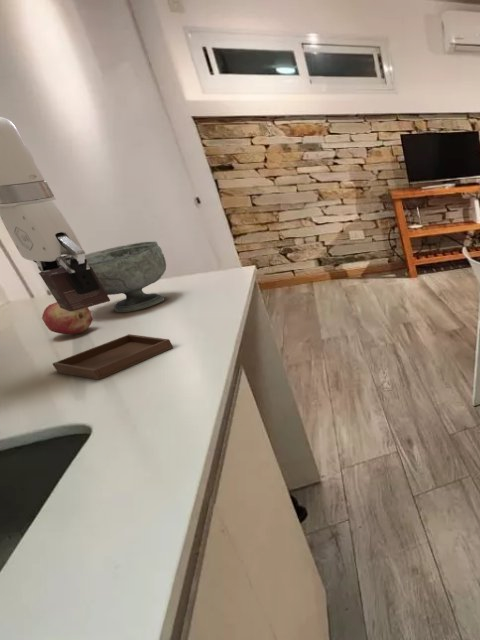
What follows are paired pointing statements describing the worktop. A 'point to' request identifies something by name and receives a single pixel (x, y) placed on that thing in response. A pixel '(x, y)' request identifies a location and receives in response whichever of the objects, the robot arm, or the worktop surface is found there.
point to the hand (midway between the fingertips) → (76, 289)
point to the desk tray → (112, 356)
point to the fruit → (66, 319)
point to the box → (72, 290)
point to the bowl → (129, 273)
